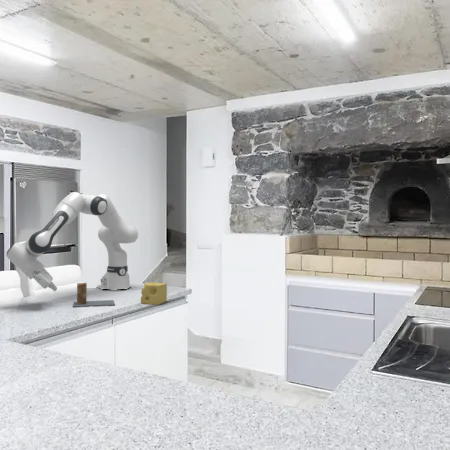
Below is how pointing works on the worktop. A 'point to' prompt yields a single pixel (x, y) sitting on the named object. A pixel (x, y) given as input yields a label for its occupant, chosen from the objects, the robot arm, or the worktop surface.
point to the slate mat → (95, 303)
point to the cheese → (154, 293)
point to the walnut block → (81, 293)
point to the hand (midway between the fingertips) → (56, 289)
